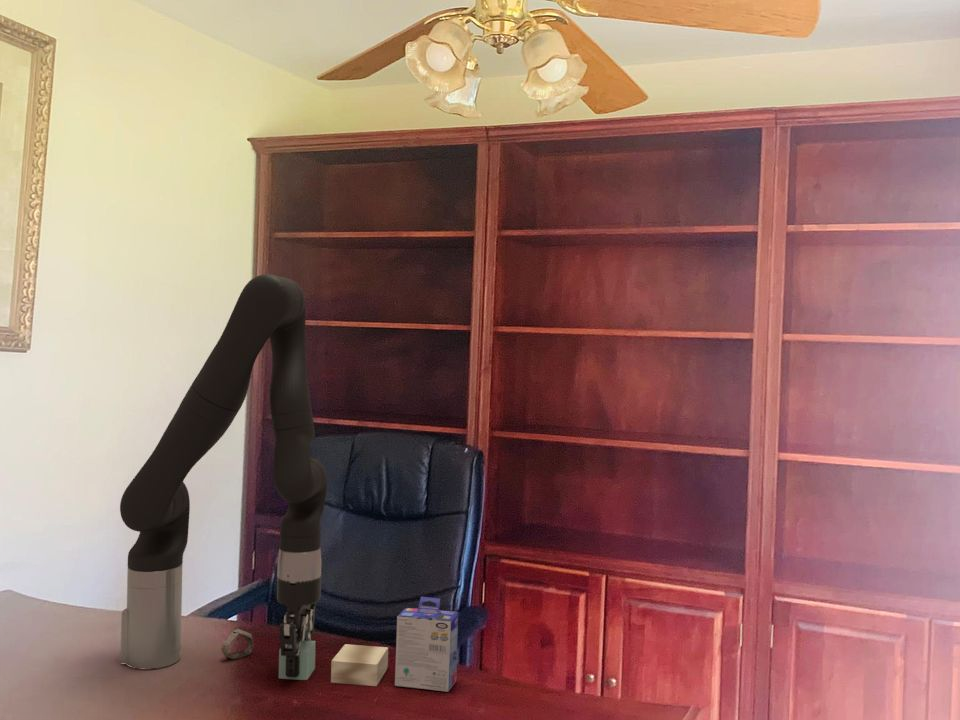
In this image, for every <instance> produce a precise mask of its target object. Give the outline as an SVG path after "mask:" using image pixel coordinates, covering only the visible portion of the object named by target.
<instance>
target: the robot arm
mask: <svg viewBox="0 0 960 720" xmlns="http://www.w3.org/2000/svg"><path fill="white" fill-rule="evenodd" d="M306 308H307V306H306V296H305V294H304V291H303V289H302V287H301V286H300V285H299V284H298V283H297V282H296V281H294V280H293V279H291V278H287V277H285V276H279V275H276V274H271V273H264V274H259V275H257V276H255V277H253V278H251V279H250V280H249V281H248V282H247V283H246V284H245V285H244V287H243V289H242V291H241V292H240V294H239V296H238V299H237V301H236V303H235V305H234V307H233V310H232V312H231V314H230V316H229V318H228V321H227V323H226V326H225V327H224V329H223V332H222V334H221V335H220V337H219V339H218V341H217V342H216V344H215V346H213V347H214V348H213V349H212V350H211V352H210V353H209V356H207V359H206V361H205V362H204V364H203V366H202V368H201V369H200V370H199V372H198V373H197V375H196V377H195V379H194V380H193V382H192V383H191V385H190V387H189V389H188V390H187V392H186V393H185V394H184V395H185V396H184V397H183V399H182V400H181V402H180V403H179V406H178V408H177V409H176V411H175V413H174V415H173V417H172V418H171V420H170V422H169V423H168V425H167V427H166V428H165V430H164V432H163V434H162V436H161V437H160V439H159V441H158V443H157V444H156V446H155V449H154V450H153V451H152V453H151V454H150V456H149V457H148V459H147V460H146V461H145V462H144V464H143V466H142V467H141V468H140V470H139V471H138V472H137V473H136V475H134V477H133V478H132V480H131V481H130V482H129V484H128V485H127V487H126V488H125V490H124V491H123V494H122V496H121V499H120V503H119V511H120V517H121V520H122V522H123V523H124V525H125V526H126V527H127V528H128V529H130V530H132V531H134V532H139V534H138V537H137V539H136V541H135V543H134V544H133V546H132V547H131V548H130V550H129V551H128V554H127V574H126V575H127V580H126V583H127V585H126V587H127V588H126V608H125V609H123V610H121V621H120V623H121V626H120V627H121V630H120V664H121V663H126V664H128V665H130V666H132V667H135V668H145V669H144V670H152V669H151V668H156V669H161V668H165V667H168V666H171V665H174V664H176V663H177V662H178V661H179V660H180V659H181V652H182V651H181V650H182V643H181V642H182V605H183V604H182V602H183V601H182V600H183V599H182V598H183V562H184V560H183V559H184V553H185V550H186V548H187V545H188V540H189V527H190V526H189V525H190V513H191V512H190V510H191V507H190V503H191V502H190V501H191V500H190V494H189V490H188V487H187V486H186V484H185V482H184V480H185V479H186V477H187V475H188V474H189V473H190V471H191V470H192V469H193V467H194V466H195V465H196V464H197V463H198V462H199V461H200V460H201V459H202V458H203V457H204V456H205V455H206V454H207V453H208V452H209V451H210V450H211V449H212V448H213V447H214V446H215V445H216V444H217V443H218V442H219V441H220V440H221V438H222V437H223V436H224V435H225V433H226V432H227V431H228V430H229V428H230V426H231V425H232V423H233V421H234V419H235V418H236V416H237V414H238V413H239V411H240V409H241V407H242V406H243V405H244V402H245V400H246V397H247V396H248V395H247V394H248V391H249V387H250V383H251V378H252V373H253V369H254V365H255V363H256V360H257V358H258V355H260V352H261V351H262V349H263V348H264V346H265V344H266V343H267V342H268V340H269V341H270V347H271V348H270V349H271V354H272V355H271V359H272V360H271V361H272V364H271V376H270V386H269V409H270V410H269V411H270V416H271V417H270V418H271V423H272V431H273V436H274V447H273V448H274V450H273V465H272V466H273V471H272V472H273V473H272V474H273V482H274V486H275V490H276V491H277V493H278V495H279V497H281V499H282V500H284V501H285V502H288V507H287V512H286V513H285V514H284V516H283V517H282V518H281V521H280V526H279V551H278V557H277V571H276V573H277V574H276V575H277V579H276V581H277V582H276V600H277V602H278V603H279V604H281V605H284V606H285V607H286V608H287V609H286V612H285V613H284V616H283V623H280V624H279V626H278V627H279V641H280V645H279V646H280V648H281V656H286V676H287V677H295V678H296V677H298V675H299V662H300V648H301V642H303V641H304V640H307V641H312V638H311V636H313V635H314V633H315V631H314V628H315V619H316V618H315V617H316V606H317V603H318V602H319V601H320V599H321V597H322V595H321V594H322V551H321V541H322V539H321V537H322V536H321V535H322V534H321V533H322V528H321V524H322V523H321V522H322V517H323V514H324V509H325V503H326V498H327V493H328V477H327V476H328V475H327V470H326V468H325V466H324V465H323V463H321V462H320V460H318V459H316V458H312V457H311V444H312V443H313V441H314V439H315V436H316V432H315V422H314V415H313V410H312V403H311V402H312V401H311V396H310V389H309V382H308V370H307V368H308V367H307V358H306V356H307V352H306V314H307V313H306V310H307V309H306ZM290 645H292V648H289V646H290ZM135 668H134V669H135ZM146 668H147V669H146Z"/></svg>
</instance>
